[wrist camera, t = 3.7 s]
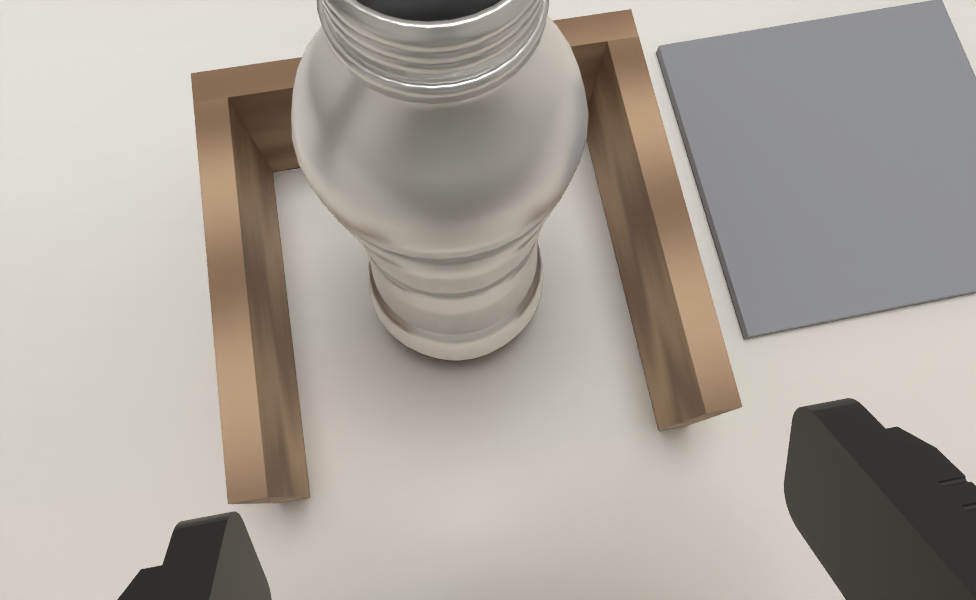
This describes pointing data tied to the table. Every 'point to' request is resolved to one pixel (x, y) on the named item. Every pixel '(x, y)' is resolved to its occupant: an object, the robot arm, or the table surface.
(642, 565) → the table surface
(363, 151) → the plastic bottle
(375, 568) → the table surface
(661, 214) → the walnut stall
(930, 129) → the charcoal mat
